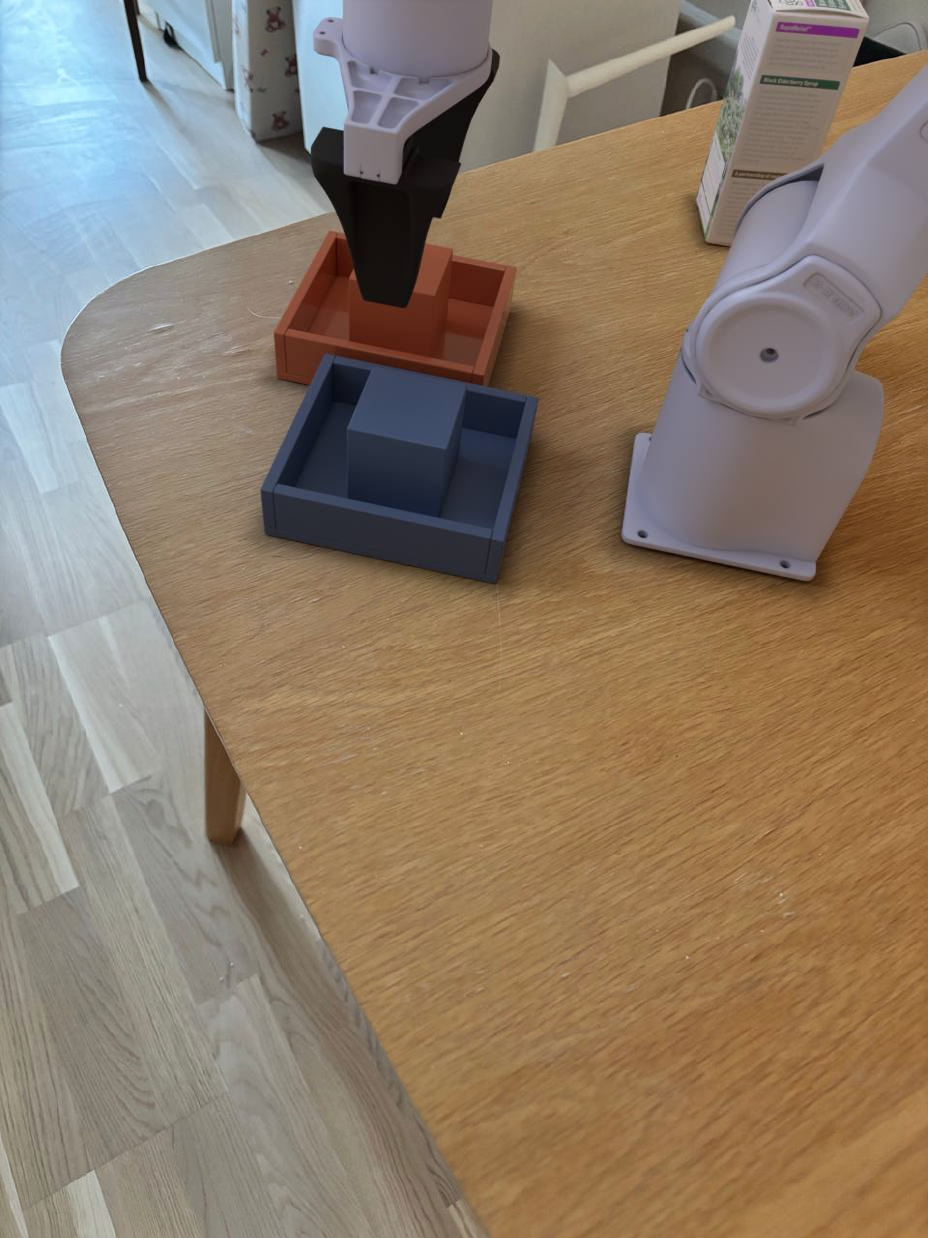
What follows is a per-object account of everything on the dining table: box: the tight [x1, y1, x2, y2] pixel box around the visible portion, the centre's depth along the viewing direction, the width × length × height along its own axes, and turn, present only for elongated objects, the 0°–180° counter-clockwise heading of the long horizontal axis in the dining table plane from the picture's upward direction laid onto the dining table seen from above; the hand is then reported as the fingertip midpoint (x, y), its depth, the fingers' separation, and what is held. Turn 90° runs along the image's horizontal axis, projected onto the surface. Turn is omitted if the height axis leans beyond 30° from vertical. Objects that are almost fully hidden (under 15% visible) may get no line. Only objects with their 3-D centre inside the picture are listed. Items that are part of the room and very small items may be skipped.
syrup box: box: [694, 0, 871, 247], centre depth 61 cm, size 6×6×14 cm
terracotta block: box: [349, 243, 454, 358], centre depth 54 cm, size 5×5×5 cm
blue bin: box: [259, 354, 540, 585], centre depth 48 cm, size 11×10×3 cm
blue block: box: [347, 367, 467, 518], centre depth 47 cm, size 5×5×5 cm
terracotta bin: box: [273, 230, 518, 387], centre depth 55 cm, size 11×10×3 cm
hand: (404, 253), depth 46 cm, fingers open, 7 cm apart
